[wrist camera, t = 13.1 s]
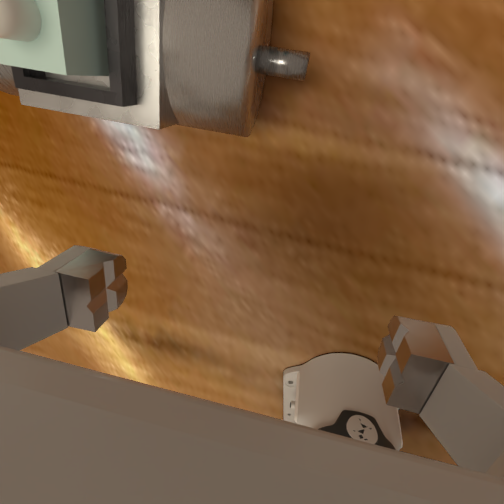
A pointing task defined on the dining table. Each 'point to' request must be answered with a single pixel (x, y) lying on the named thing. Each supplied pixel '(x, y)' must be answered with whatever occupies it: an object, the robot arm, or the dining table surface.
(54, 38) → the block
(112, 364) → the dining table surface
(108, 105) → the motor
